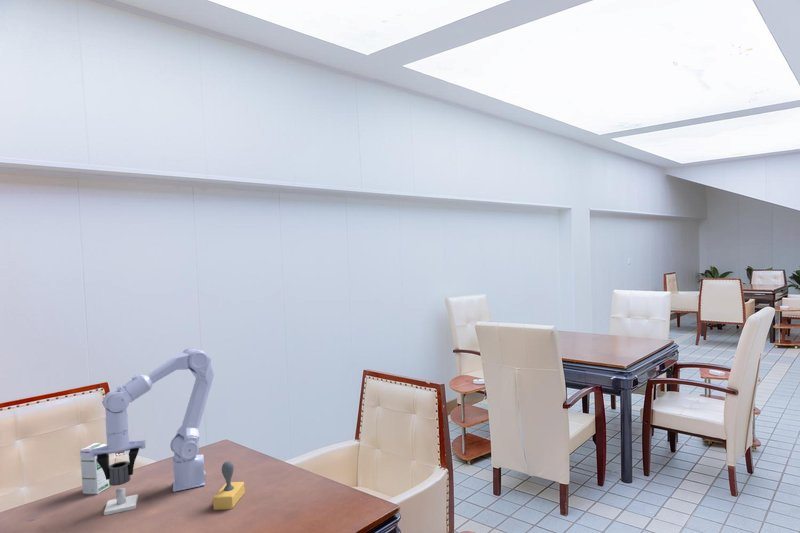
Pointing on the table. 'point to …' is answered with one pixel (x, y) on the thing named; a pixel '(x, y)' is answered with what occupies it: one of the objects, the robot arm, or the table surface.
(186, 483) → the robot arm
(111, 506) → the white square peg stand
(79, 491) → the table surface
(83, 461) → the syrup box
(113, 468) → the gray grooved hollow cylinder
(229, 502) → the rubber stamp
